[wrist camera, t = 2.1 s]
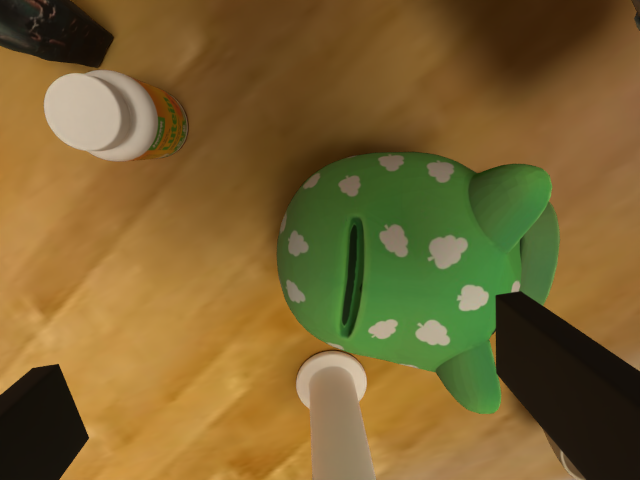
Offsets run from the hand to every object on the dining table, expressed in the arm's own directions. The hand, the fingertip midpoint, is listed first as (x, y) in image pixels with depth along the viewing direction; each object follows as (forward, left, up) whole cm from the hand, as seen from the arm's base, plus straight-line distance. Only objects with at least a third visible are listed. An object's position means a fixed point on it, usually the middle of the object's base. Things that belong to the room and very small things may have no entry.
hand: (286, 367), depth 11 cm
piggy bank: (+2, +8, -21) cm, 23 cm away
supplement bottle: (-9, -10, -21) cm, 25 cm away
